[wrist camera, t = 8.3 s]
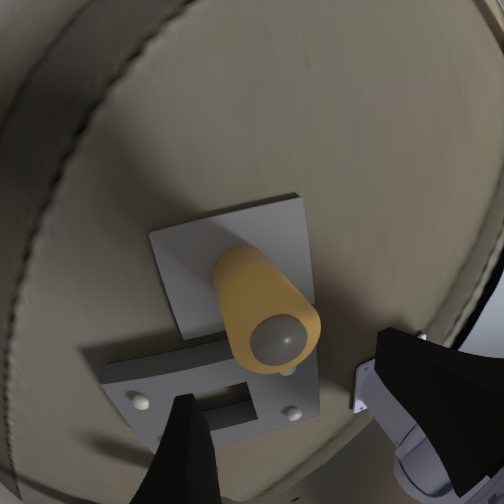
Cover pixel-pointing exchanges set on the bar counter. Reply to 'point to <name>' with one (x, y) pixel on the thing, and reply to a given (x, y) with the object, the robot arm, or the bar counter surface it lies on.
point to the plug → (263, 312)
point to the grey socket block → (206, 379)
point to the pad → (219, 241)
